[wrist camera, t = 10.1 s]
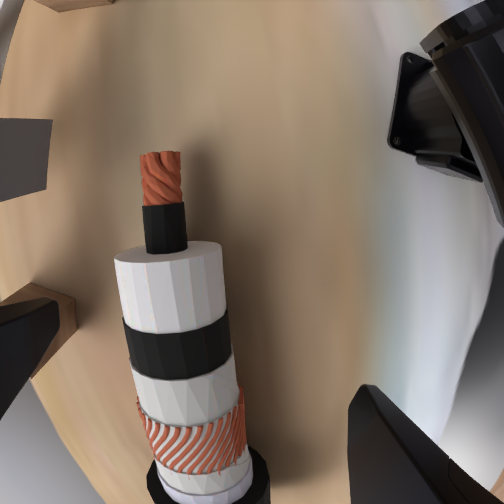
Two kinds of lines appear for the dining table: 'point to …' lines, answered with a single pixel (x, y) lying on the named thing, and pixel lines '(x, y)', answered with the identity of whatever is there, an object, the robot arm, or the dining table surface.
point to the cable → (184, 355)
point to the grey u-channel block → (23, 156)
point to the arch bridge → (3, 24)
